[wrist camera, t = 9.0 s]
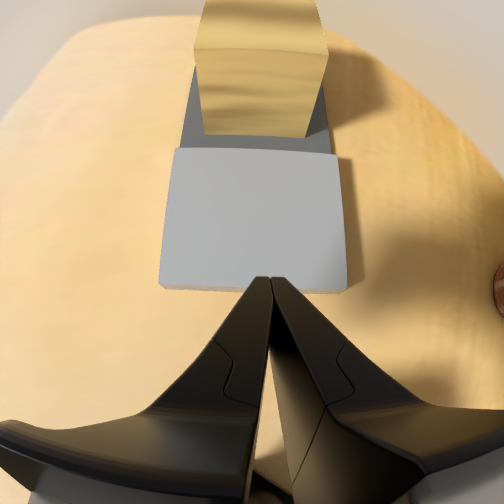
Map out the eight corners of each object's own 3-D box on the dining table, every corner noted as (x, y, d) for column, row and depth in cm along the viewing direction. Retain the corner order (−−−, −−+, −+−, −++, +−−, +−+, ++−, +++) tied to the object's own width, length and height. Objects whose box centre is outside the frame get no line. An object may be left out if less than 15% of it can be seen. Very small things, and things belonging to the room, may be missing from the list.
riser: (338, 293, 22) (347, 288, 20) (165, 288, 22) (158, 283, 20) (330, 168, 25) (337, 154, 23) (179, 161, 25) (175, 147, 23)
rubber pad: (330, 164, 25) (332, 161, 24) (179, 158, 25) (178, 154, 24) (318, 73, 28) (319, 69, 27) (196, 68, 28) (195, 63, 27)
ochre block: (304, 138, 25) (329, 55, 16) (204, 134, 25) (193, 49, 16) (298, 73, 27) (313, -3, 18) (213, 70, 27) (208, -8, 18)
